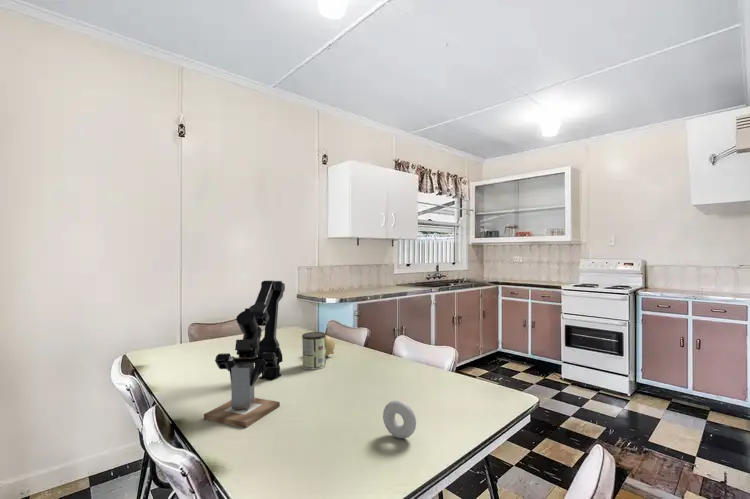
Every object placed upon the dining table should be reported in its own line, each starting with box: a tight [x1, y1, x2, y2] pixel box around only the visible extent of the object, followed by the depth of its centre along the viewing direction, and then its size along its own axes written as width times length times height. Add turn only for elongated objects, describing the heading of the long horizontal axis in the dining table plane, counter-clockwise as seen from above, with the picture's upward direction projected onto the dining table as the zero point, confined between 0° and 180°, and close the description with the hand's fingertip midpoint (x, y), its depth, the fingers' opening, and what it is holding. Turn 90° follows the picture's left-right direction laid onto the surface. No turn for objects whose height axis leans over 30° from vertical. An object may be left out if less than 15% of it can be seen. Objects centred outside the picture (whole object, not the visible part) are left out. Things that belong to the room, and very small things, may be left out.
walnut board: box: [203, 397, 281, 429], centre depth 119 cm, size 16×16×2 cm
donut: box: [382, 399, 417, 440], centre depth 102 cm, size 10×4×10 cm, turn 55°
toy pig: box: [325, 335, 336, 357], centre depth 183 cm, size 10×12×11 cm
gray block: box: [230, 363, 255, 409], centre depth 119 cm, size 6×6×12 cm
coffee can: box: [301, 331, 327, 370], centre depth 167 cm, size 10×10×14 cm
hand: (241, 385), depth 118 cm, fingers closed on gray block, 5 cm apart
